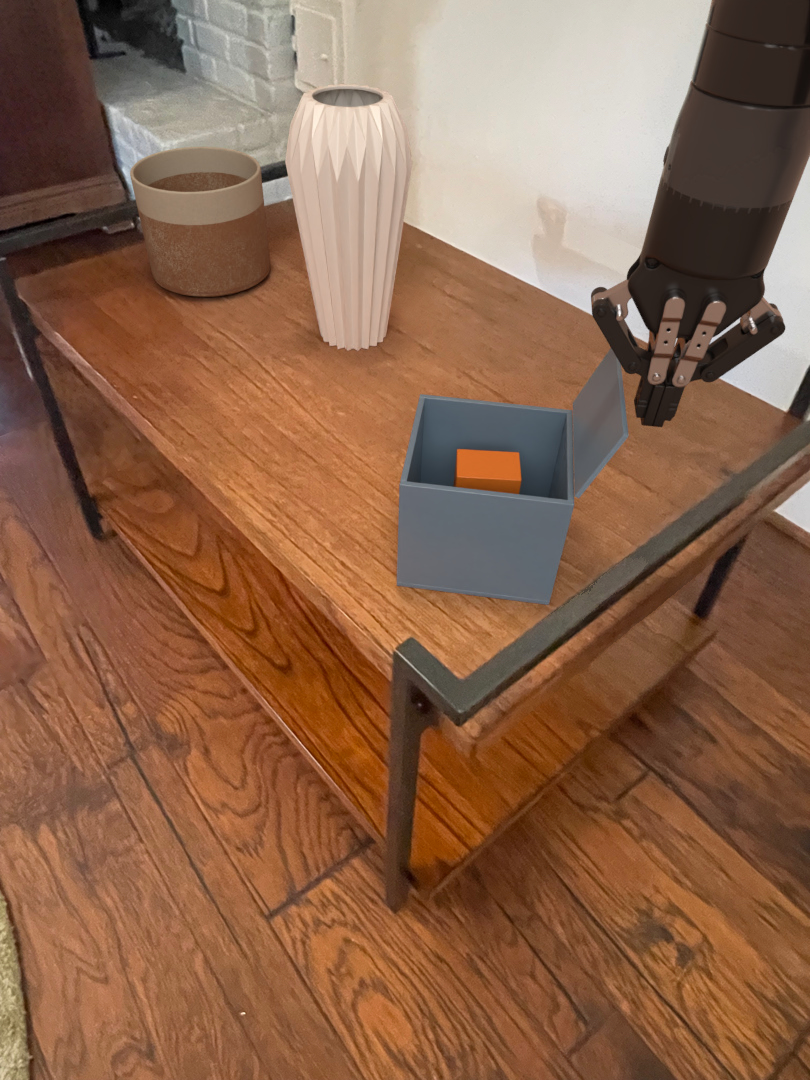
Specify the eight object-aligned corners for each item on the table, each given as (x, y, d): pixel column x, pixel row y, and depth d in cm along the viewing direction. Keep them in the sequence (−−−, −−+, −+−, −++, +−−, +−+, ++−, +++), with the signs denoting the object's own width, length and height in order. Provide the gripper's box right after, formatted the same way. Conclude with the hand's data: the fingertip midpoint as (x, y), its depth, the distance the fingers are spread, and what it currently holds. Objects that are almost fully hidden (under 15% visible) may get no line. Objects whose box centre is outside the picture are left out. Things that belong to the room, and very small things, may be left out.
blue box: (550, 509, 72) (572, 409, 63) (548, 605, 63) (574, 504, 55) (415, 493, 73) (420, 393, 64) (396, 585, 64) (399, 484, 56)
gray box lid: (572, 402, 63) (576, 404, 63) (574, 496, 55) (579, 498, 55) (614, 341, 58) (619, 343, 59) (623, 434, 50) (629, 436, 50)
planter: (212, 238, 111) (196, 137, 101) (294, 268, 105) (286, 164, 95) (128, 278, 102) (101, 171, 92) (213, 314, 96) (195, 203, 86)
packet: (506, 529, 69) (519, 451, 62) (507, 557, 66) (521, 480, 60) (449, 525, 69) (456, 448, 63) (448, 554, 66) (456, 476, 60)
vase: (282, 321, 95) (259, 85, 76) (376, 298, 100) (376, 71, 81) (326, 374, 87) (312, 124, 68) (426, 347, 91) (439, 106, 73)
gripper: (617, 191, 42) (561, 441, 54) (865, 212, 40) (750, 462, 53) (610, 146, 47) (561, 383, 59) (830, 163, 46) (733, 401, 58)
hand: (650, 420), depth 56 cm, fingers closed
